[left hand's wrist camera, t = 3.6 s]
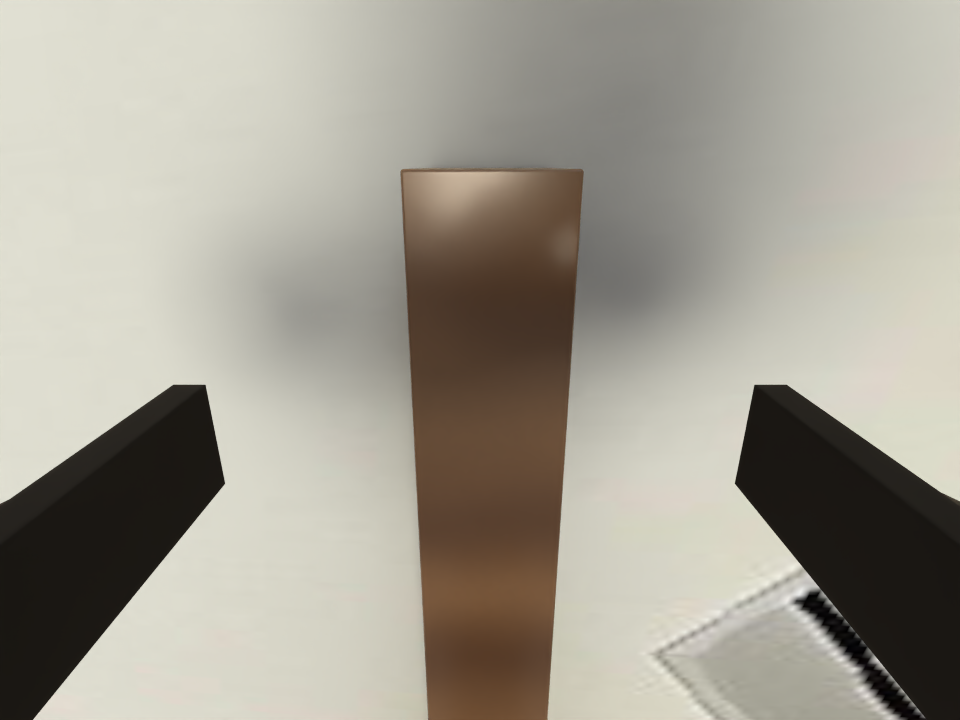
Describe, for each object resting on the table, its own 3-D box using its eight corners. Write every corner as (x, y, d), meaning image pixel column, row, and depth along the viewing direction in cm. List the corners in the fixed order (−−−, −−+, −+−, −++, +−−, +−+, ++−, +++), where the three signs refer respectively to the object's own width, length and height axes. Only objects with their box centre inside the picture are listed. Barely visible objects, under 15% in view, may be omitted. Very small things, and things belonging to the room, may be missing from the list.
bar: (428, 168, 21) (399, 168, 14) (552, 167, 21) (584, 169, 14) (452, 911, 40) (445, 1065, 33) (518, 912, 40) (524, 1067, 33)
